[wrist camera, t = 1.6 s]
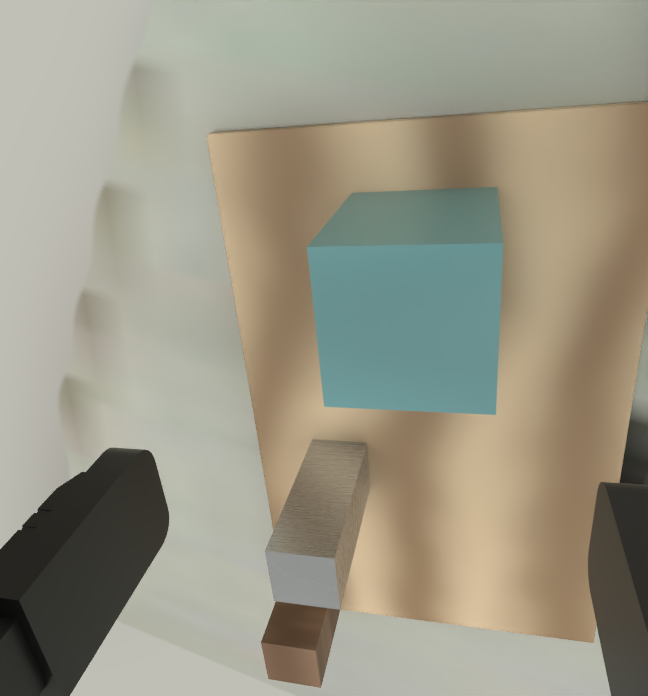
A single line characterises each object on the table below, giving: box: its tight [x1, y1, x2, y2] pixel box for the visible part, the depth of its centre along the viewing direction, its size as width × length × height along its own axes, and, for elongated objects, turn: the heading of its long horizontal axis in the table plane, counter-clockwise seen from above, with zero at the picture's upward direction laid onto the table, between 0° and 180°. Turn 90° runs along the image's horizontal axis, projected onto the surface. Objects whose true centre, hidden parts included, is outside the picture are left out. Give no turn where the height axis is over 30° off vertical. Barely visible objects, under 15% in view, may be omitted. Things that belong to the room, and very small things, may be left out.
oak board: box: [207, 101, 648, 643], centre depth 26 cm, size 16×25×1 cm, turn 5°
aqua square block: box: [307, 187, 503, 415], centre depth 20 cm, size 5×5×7 cm
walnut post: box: [261, 601, 340, 688], centre depth 30 cm, size 3×3×5 cm
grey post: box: [265, 439, 370, 610], centre depth 25 cm, size 3×3×7 cm
